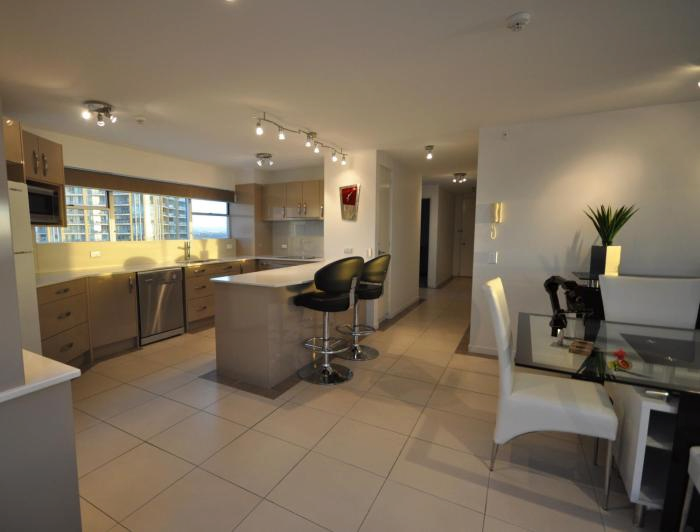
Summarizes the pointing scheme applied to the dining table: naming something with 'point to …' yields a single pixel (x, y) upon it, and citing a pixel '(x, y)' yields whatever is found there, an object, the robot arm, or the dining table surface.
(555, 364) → the dining table surface
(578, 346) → the hole block
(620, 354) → the bird rattle
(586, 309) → the robot arm
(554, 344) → the mat
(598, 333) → the dining table surface
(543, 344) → the dining table surface
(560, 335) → the peg
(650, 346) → the dining table surface
